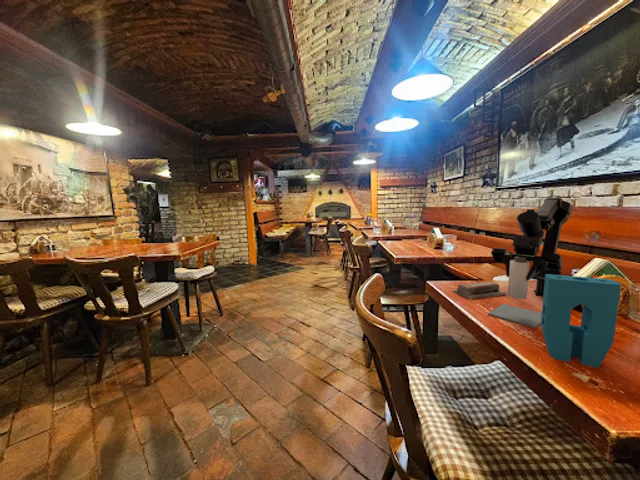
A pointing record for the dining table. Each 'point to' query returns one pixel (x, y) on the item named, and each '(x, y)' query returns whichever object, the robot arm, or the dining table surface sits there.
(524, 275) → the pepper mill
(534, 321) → the felt mat
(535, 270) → the robot arm
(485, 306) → the dining table surface
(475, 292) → the packaged product
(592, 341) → the block
